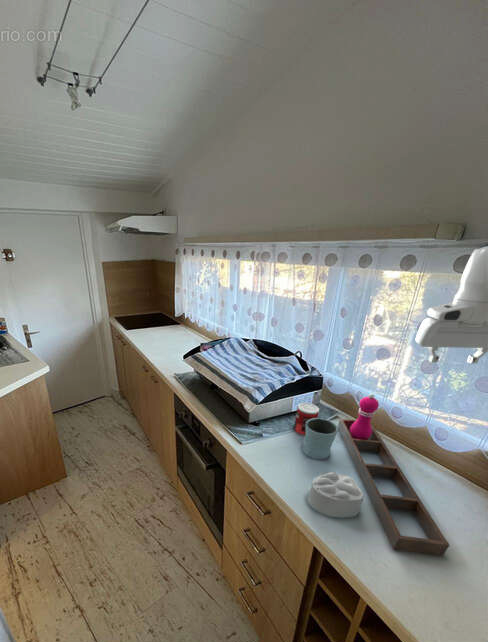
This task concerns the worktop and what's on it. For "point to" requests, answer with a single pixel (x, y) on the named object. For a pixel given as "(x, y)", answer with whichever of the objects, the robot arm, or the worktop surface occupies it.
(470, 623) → the worktop surface
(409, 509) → the cubby organizer
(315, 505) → the lumpy-topped squat cylinder
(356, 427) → the pepper mill
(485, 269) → the robot arm
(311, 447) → the grey-green cup
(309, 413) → the canned food
